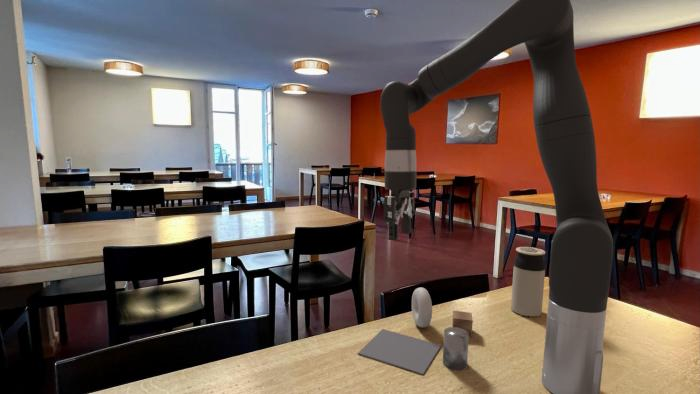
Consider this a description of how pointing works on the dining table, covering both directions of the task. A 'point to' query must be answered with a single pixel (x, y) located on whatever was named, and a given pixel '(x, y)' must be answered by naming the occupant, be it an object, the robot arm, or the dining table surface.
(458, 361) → the grey cylinder
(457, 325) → the walnut block
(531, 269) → the travel mug
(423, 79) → the robot arm
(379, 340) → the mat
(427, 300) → the donut
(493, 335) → the dining table surface
